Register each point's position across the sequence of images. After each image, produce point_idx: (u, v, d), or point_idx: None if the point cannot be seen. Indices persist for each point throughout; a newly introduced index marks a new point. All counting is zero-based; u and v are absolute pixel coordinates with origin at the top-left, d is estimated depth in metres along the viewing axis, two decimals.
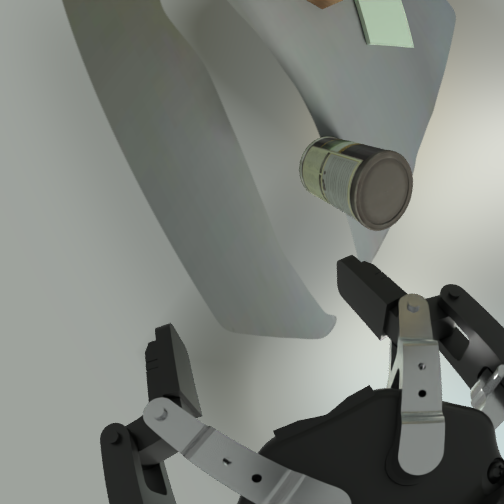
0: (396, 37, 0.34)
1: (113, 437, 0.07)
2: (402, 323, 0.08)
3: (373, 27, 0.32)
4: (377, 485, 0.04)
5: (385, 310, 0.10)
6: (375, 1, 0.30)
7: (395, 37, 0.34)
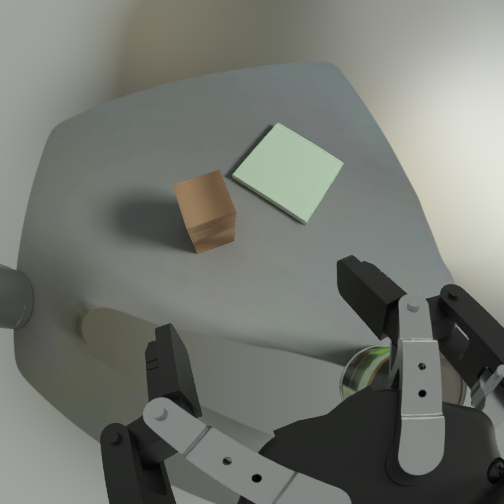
0: (320, 177, 0.39)
1: (113, 436, 0.07)
2: (402, 323, 0.08)
3: (292, 199, 0.38)
4: (377, 485, 0.04)
5: (385, 310, 0.10)
6: (267, 164, 0.39)
7: (320, 179, 0.39)
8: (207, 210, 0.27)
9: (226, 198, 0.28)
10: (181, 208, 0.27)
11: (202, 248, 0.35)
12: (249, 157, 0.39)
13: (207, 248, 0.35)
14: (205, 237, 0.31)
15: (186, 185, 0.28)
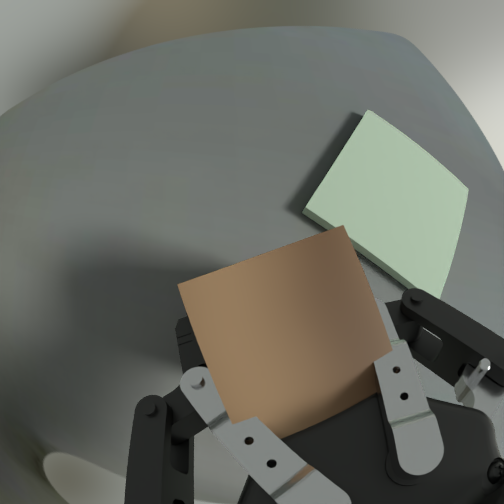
0: (448, 215, 0.19)
1: (149, 408, 0.08)
2: None
3: (416, 260, 0.18)
4: (377, 485, 0.04)
5: None
6: (368, 187, 0.19)
7: (447, 218, 0.19)
8: (318, 386, 0.07)
9: (377, 336, 0.07)
10: (219, 383, 0.07)
11: None
12: (333, 170, 0.19)
13: None
14: None
15: (232, 287, 0.07)
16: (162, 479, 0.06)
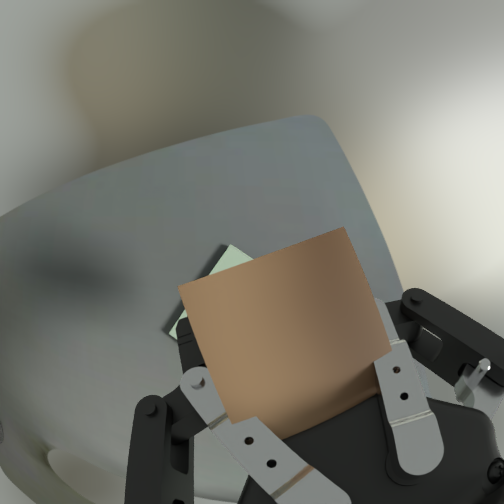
0: None
1: (149, 408, 0.08)
2: None
3: None
4: (377, 485, 0.04)
5: None
6: None
7: None
8: (318, 388, 0.07)
9: (377, 338, 0.07)
10: (220, 385, 0.07)
11: None
12: None
13: None
14: None
15: (232, 289, 0.07)
16: (162, 479, 0.06)
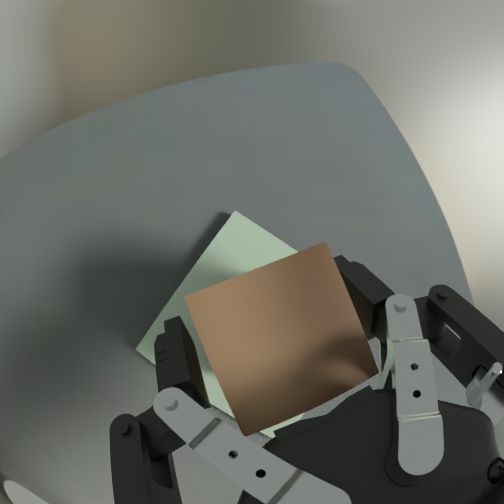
0: None
1: (123, 427, 0.07)
2: (388, 323, 0.09)
3: None
4: (377, 485, 0.04)
5: (372, 310, 0.10)
6: None
7: None
8: (304, 380, 0.08)
9: (355, 337, 0.09)
10: (221, 378, 0.08)
11: None
12: (168, 308, 0.18)
13: None
14: None
15: (230, 298, 0.09)
16: (148, 495, 0.05)
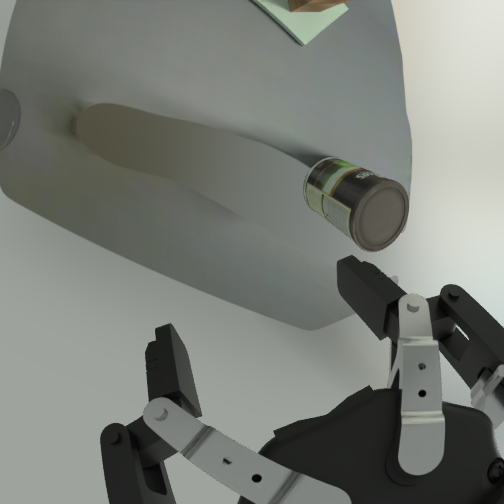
0: (325, 13, 0.30)
1: (113, 436, 0.07)
2: (402, 323, 0.08)
3: (297, 23, 0.30)
4: (377, 485, 0.04)
5: (385, 310, 0.10)
6: None
7: (324, 14, 0.30)
8: None
9: None
10: None
11: (301, 9, 0.28)
12: None
13: (302, 10, 0.28)
14: (318, 2, 0.25)
15: None
16: (143, 502, 0.05)
